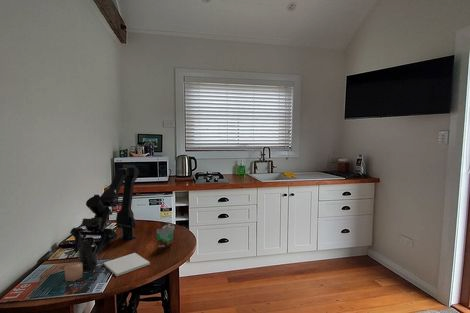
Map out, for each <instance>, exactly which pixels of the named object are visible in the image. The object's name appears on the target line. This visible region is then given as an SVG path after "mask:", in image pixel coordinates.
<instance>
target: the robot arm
mask: <svg viewBox="0 0 470 313" xmlns="http://www.w3.org/2000/svg"><path fill="white" fill-rule="evenodd" d="M139 173H140V169H139V168H138V167H137V166H132V165H131V166H127V165H126V166H124V167H122V168H118V169H117V170H116V174H115V176H114V177H113V179H112V181H111V183H110V184H109V187H108V189H106V190H105V191H103V193H102V194H101V195H100V194H94V195H93V196H91V197H89V198H88V199H87V200H86V202H85V206H86V207H87V208H88V209H89V210H90V211H91V212H92V213H93V214H94V216H93V217H91V218H82V222H81V227H72V228H71V230H70V231H69V232H70V235H71V236H73V237H74V241H75V242H74V252H75V254H77V253H79V251H78V250H79V247H80V246H81V239H83V238H87V236H89V237H90V236H95V237H99V236H100V240H99V242H98V244H97V249H96V254H97V255H98V254H99V252H101V250H103V249H104V248H105V247H106V246H107V245H108V244H109V243H111V242H113V241H116V240H117V237H118V233H117V232H116V230H115V229H114V228H107V226H108V223H107V222H108V220H109V217H110V216H112V215H113V212H112V209H111V208H113V207H116V206H117V204H118V203H119V198H120V197H119V193H120V190H121V188H122V187H123V191H122V192H123V193H122V200H121V209H120V210H119V211H117V212H116V219H115V222H116V226H117V229H118V228H119V229H121V236H119V237H118V238H119V239H120V240H122V241H127V240H132V239H134V238H135V239H136V236H135V235H134V229H133V228H136V227H137V222H138V221H137V220H136V218H135V216H134V212H133V210H132V203H133V196H134V195H133V194H134V186H135V185H134V184H135V182H136V180H137V179H138V177H139ZM123 184H124V185H123ZM83 227H85V229H86V230H85V229H83ZM105 227H106V228H105Z"/></svg>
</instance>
